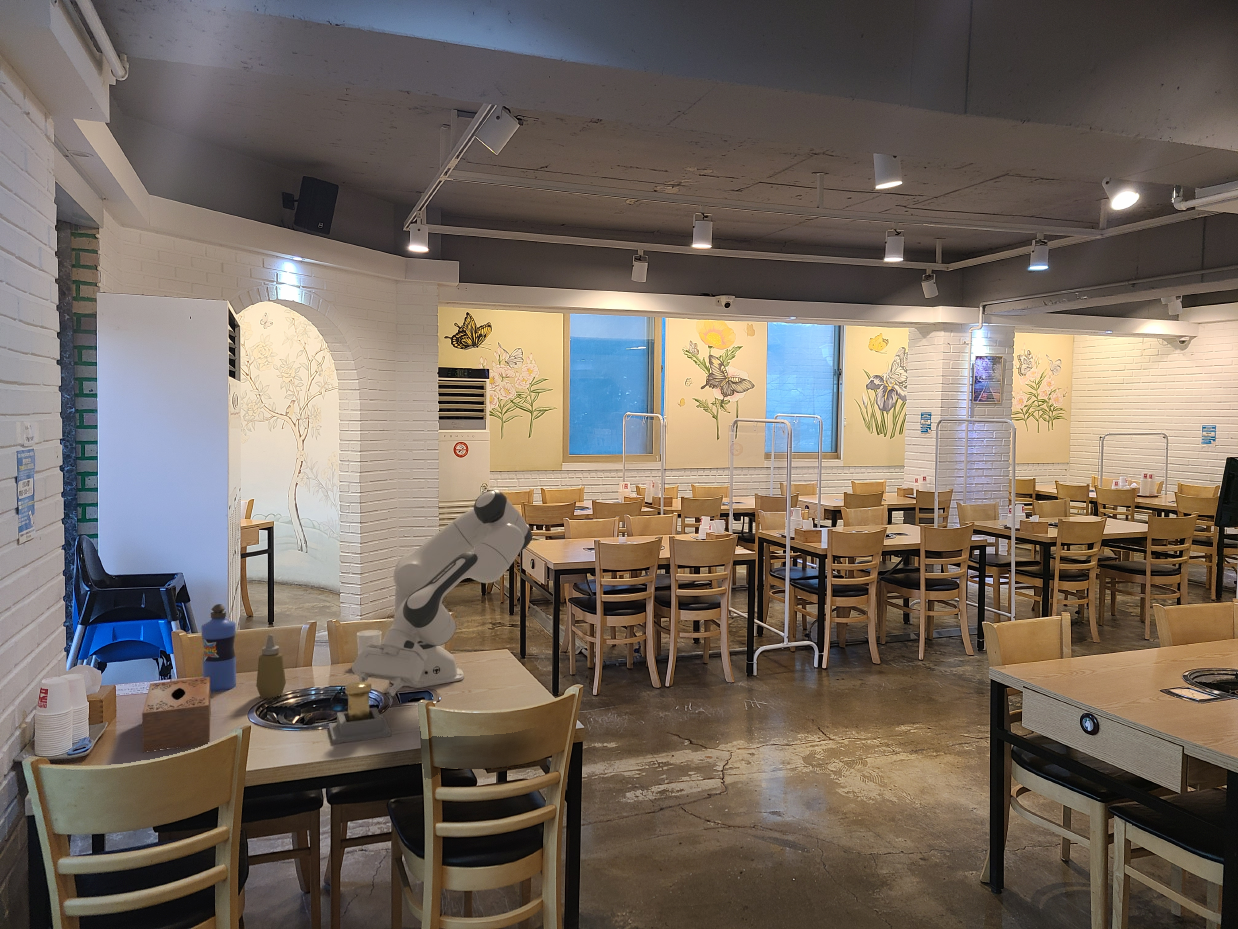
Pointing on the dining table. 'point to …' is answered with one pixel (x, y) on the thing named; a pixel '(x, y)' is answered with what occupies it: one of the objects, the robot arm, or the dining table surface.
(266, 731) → the dining table surface
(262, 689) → the squeeze bottle
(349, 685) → the gold stepped cylinder
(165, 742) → the tissue box cover
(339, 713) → the socket block
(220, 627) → the water bottle
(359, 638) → the white cup
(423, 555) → the robot arm
